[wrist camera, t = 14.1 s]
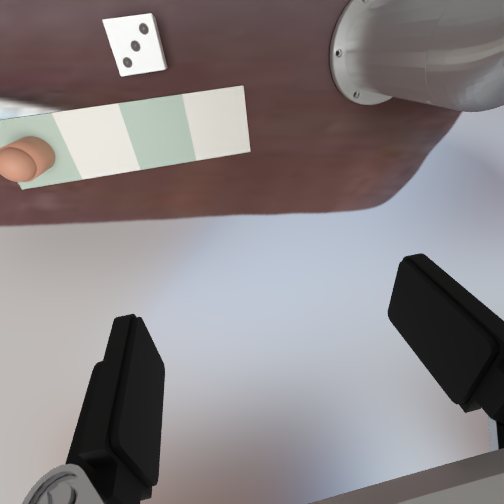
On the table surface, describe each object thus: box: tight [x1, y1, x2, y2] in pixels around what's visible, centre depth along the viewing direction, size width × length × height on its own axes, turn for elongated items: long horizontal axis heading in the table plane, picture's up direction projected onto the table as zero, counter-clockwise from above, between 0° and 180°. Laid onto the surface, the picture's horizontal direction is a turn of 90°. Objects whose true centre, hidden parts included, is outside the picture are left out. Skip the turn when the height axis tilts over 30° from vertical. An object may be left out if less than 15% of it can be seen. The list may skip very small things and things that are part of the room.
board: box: [0, 85, 250, 189], centre depth 36 cm, size 30×8×1 cm, turn 96°
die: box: [103, 13, 168, 76], centre depth 30 cm, size 4×4×5 cm
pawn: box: [0, 136, 55, 182], centre depth 33 cm, size 4×4×6 cm
